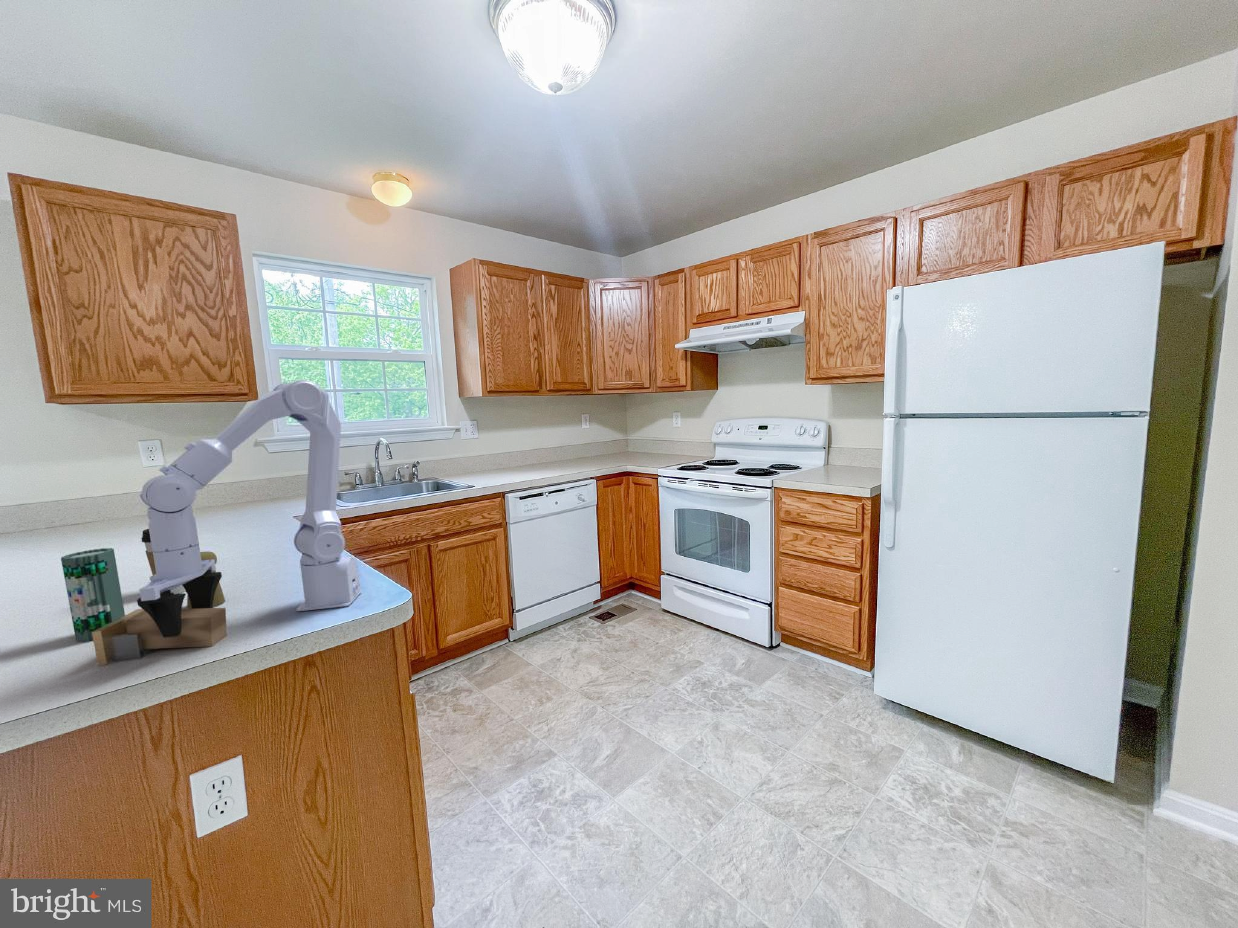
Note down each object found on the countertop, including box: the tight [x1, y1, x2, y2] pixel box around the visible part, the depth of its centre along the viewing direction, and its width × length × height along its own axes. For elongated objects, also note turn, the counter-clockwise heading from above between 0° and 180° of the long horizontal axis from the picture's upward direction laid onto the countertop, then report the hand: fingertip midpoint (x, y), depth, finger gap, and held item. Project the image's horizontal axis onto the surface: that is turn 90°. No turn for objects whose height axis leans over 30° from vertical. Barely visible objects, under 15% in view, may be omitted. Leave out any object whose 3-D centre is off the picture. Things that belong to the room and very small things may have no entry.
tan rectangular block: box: [126, 607, 228, 650], centre depth 82 cm, size 12×4×5 cm, turn 100°
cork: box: [186, 551, 226, 609], centre depth 99 cm, size 6×6×11 cm
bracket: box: [92, 608, 157, 666], centre depth 81 cm, size 5×9×6 cm, turn 10°
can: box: [60, 547, 126, 643], centre depth 87 cm, size 6×6×15 cm
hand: (188, 625), depth 82 cm, fingers open, 7 cm apart
